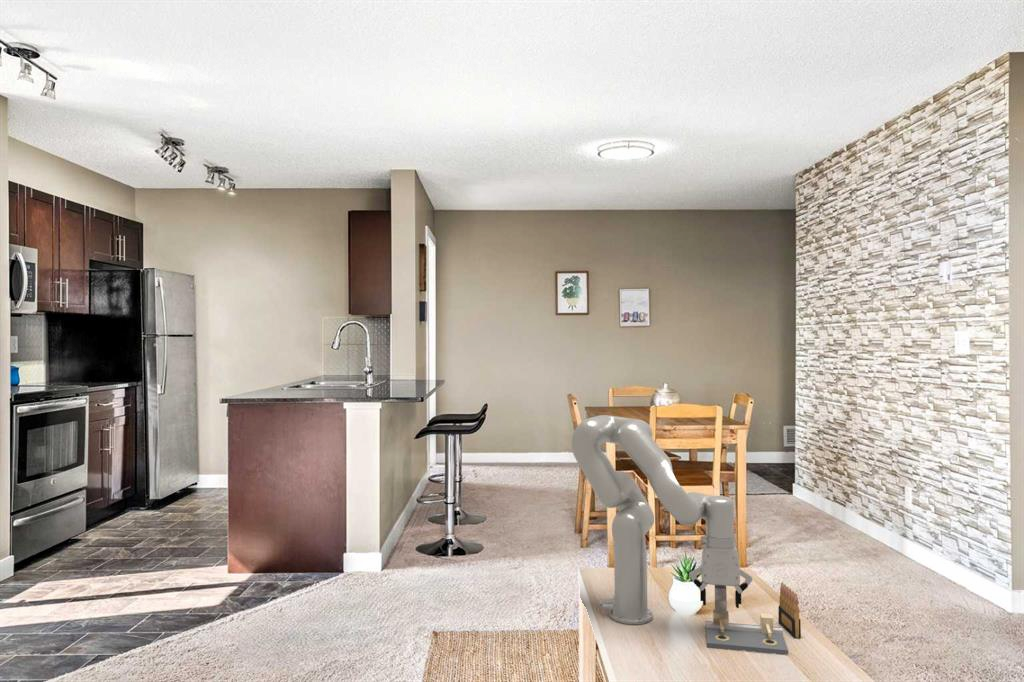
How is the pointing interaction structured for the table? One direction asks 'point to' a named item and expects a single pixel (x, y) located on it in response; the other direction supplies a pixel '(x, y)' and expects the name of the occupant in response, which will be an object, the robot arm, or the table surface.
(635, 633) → the table surface
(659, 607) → the table surface
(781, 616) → the ammunition clip
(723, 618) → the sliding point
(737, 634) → the hole plate
